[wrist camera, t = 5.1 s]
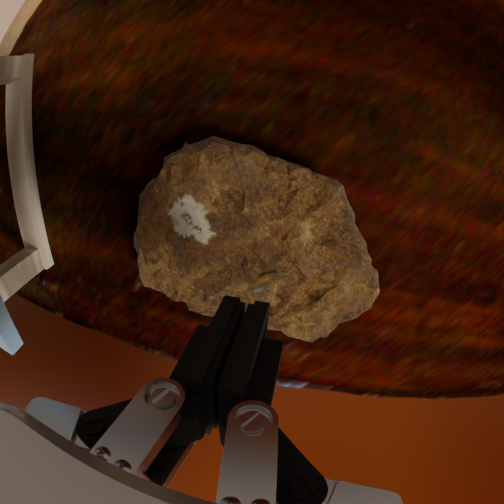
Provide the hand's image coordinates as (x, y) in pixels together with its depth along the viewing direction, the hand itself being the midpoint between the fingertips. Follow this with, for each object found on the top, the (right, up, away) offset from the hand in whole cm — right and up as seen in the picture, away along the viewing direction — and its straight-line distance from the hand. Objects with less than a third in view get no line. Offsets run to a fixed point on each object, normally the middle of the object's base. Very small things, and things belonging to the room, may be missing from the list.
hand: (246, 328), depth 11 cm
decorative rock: (+1, +4, +7) cm, 8 cm away
